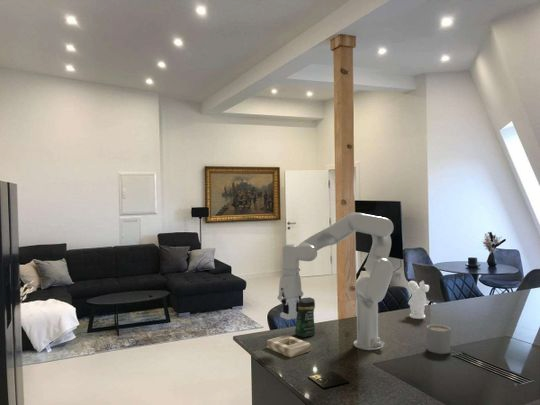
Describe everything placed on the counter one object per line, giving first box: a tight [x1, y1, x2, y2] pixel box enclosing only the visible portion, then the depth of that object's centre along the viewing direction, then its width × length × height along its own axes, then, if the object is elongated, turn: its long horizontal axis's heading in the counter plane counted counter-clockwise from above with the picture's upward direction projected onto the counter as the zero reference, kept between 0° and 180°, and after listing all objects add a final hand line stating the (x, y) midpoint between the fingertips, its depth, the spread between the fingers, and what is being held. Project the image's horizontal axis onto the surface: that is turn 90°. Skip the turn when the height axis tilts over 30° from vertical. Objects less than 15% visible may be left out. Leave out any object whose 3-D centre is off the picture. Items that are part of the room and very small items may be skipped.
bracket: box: [279, 297, 297, 321], centre depth 193 cm, size 6×5×10 cm
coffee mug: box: [426, 324, 452, 355], centre depth 192 cm, size 13×10×10 cm
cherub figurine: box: [407, 280, 430, 320], centre depth 244 cm, size 12×12×22 cm
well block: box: [267, 334, 311, 358], centre depth 193 cm, size 16×12×4 cm
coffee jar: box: [294, 297, 316, 338], centre depth 213 cm, size 10×8×19 cm
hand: (290, 311), depth 192 cm, fingers closed on bracket, 5 cm apart
